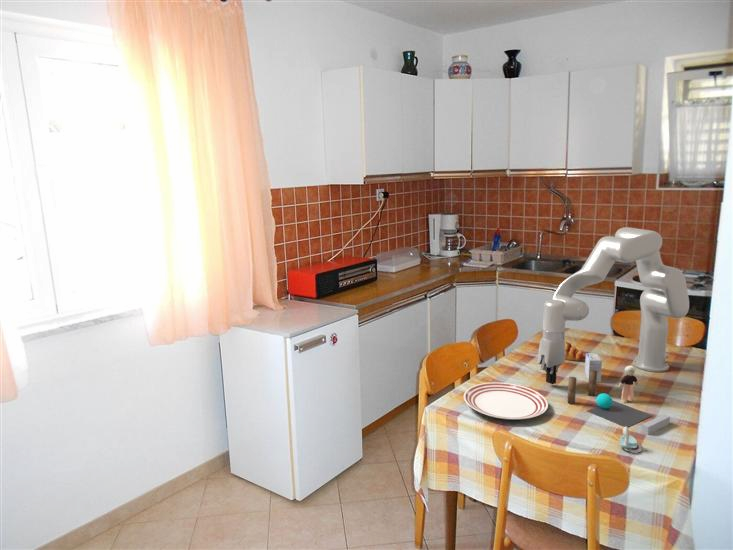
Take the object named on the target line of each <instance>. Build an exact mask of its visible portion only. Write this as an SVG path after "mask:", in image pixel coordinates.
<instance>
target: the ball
mask: <svg viewBox="0 0 733 550" xmlns="http://www.w3.org/2000/svg"><path fill="white" fill-rule="evenodd" d="M612 400H613V398H612V397H611V396H610V395H609V394H608V393H605V392H604V393H599V394H598V395H597V397H596V400H595V402H596V405H597V406H599V407H600V408H602V409H608V408H610V407H611V406H612V403H613V401H614V400H613V401H612Z"/></svg>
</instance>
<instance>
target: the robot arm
mask: <svg viewBox="0 0 733 550" xmlns="http://www.w3.org/2000/svg"><path fill="white" fill-rule="evenodd" d="M662 246H663V238H662V236H661V234H660V233H659V232H657V231H655V230H650V229H643V228H637V227H629V226H626V227H624V226H623V227H621V228H618V229H617V230H616V232H615V234H614V236H611V235H607V236H603V237H601V238H600V239H598V241H597V242H596V244H595V246H594V248H593V250H592V251H591V252H590V254H589V256H588V257H587V259H586V261H585V262H584V264H583V265H582V266H581V269H579V270H578V271H575V273H572V275H570V276H569V277H567V278H566V279H565V280H563V281H562V282H561V283H560V284H559V286H558V287H557V289H556V291H555V292H554V294H553V296H552V298H551V299H548V300H545V301H544V303H543V314H542V333H541V334H542V337H541V338H540V342H539V345H538V352H537V364H538V365H540V370H541V371H544V372H545V382H546V383H548V384H550V385H555V384H557V373H558V371H559V368H560V366H562V365H563V363H565V361H566V360H565V342H566V340H565V338H566V337H565V335H566V334H565V332H566V321H572V322H573V321H576V322H577V321H578V322H579V321H582V320H584V319H586V318H587V317H588V315H589V313H590V307H589V306H588V304H587V302H585V301H583V300H581V299H577V298H575V297H573V296H574V294H575V293H576V292H578V291H579V290H581V289H582V288H584V287H588V286H592V285H596V284H600V283H602V282H603V281H604V280H605V279H606V278H607V275H608V274H609V272H610V271H611V269H612V267H613V266H614V264H615V263H616V262H618V263H623V264H624V263H625V264H628V263H633V262H635V263H636V269H637V272H638V277H639V282H640V284H641V285H642V286H643V287H645V288H646V289H645V290H643V291H642V293H641V294H640V297H639V298H640V299H639V304H640V306H639V307H640V312H641V313H640V314H641V315H640V317H641V320H640V331H639V343H638V353H637V358H635V359H634V360H633V362H632V364H633V367H635V368H636V369H637V368H638V369H640V370H643V371H648V372H654V373H659V372H667V371H668V370H669V369H670V366H669V364H668V363H667V362H666V360H667V359H668V358H670V354H669V353H668V352H667V342H668V336H669V335H668V334H669V320H668V318H672V319H682V318H684V317H686V315H687V314H688V313H689V309H690V298H689V293H688V286H687V281H686V277H685V275H684V273H683V272H682V270H681V269H679V268H676V267H674V266H668V265H665V264H664V263H663V260H662V257H661V252H660V249H661V248H662Z"/></svg>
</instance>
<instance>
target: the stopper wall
mask: <svg viewBox="0 0 733 550" xmlns="http://www.w3.org/2000/svg"><path fill="white" fill-rule="evenodd" d="M670 421H671V416H670V415H667V414H666V413H663V414H661V415H658V416H657V417H655V418H653V419H651V420H648V421H647V422H644V423H641V424H642V425H641V430H640V431H641V432H640V433H642V432H643V433H642V434H645V435H647V434H648V435H650V434H653V433H655V432H657V430H661V429H662V428H664V427H666V426H668V425H670V424H671V423H670Z"/></svg>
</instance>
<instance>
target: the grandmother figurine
mask: <svg viewBox="0 0 733 550" xmlns="http://www.w3.org/2000/svg"><path fill="white" fill-rule="evenodd" d="M635 372H636V367H635V366H634V365H627V366H625V367H624V373H626V374H625V375H624V376H623V377H622V379H621V380H620V381H619V384H618V386H617V387H618V388H619V389H621V388H622V389H621V390H622V391H621V397H620V398H621V399H619V401H620V402H621V404H628V403H633V402H634V395H635V394H634V385H639V381H638V378H637V377H636V376H635ZM622 386H623V387H622Z"/></svg>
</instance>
